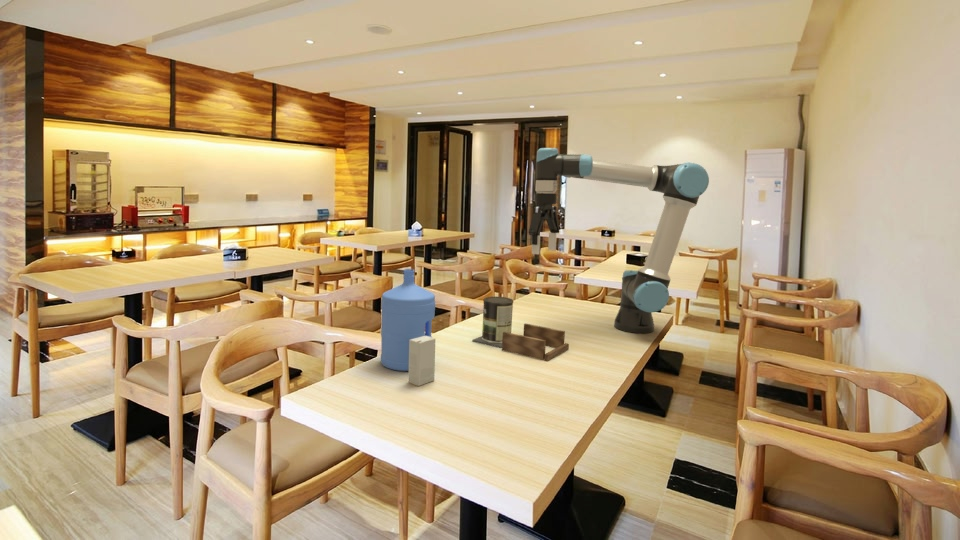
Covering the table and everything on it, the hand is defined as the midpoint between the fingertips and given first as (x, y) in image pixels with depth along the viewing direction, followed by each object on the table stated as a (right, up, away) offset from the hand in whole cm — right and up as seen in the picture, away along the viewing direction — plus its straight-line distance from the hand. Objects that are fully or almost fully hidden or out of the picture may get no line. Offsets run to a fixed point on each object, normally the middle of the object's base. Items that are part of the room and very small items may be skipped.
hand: (543, 252), depth 189 cm
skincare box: (-39, -37, -48) cm, 72 cm away
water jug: (-45, -34, -33) cm, 66 cm away
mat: (-17, -31, -7) cm, 36 cm away
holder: (-5, -33, -16) cm, 37 cm away
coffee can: (-17, -31, -7) cm, 36 cm away
